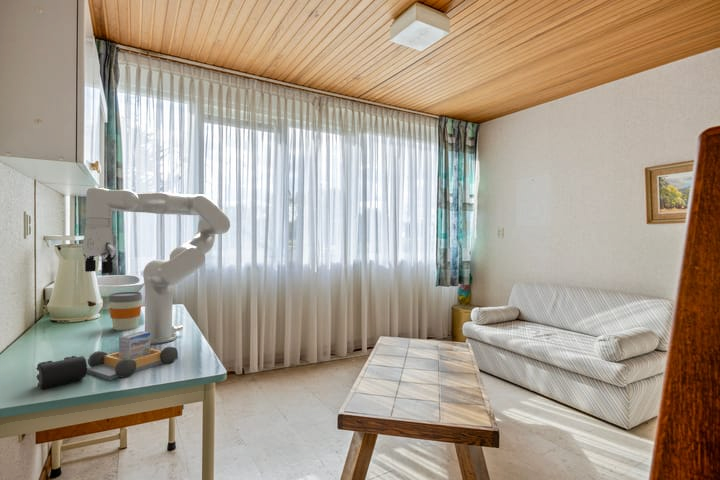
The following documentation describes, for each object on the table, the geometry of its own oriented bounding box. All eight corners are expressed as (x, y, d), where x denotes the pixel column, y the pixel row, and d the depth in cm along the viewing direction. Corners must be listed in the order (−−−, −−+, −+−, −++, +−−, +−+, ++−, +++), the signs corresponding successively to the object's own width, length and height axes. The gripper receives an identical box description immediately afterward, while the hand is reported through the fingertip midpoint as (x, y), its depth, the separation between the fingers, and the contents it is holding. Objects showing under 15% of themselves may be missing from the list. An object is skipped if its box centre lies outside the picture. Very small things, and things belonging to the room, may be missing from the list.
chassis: (151, 352, 134) (151, 337, 133) (181, 359, 126) (181, 344, 126) (82, 371, 114) (82, 354, 114) (113, 381, 107) (113, 364, 107)
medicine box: (129, 366, 116) (129, 338, 116) (118, 364, 117) (118, 336, 117) (150, 358, 123) (151, 332, 123) (140, 356, 124) (140, 330, 124)
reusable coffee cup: (111, 332, 158) (111, 297, 158) (105, 327, 167) (106, 293, 167) (144, 328, 166) (145, 294, 166) (138, 322, 176) (138, 290, 176)
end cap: (42, 393, 98) (42, 367, 98) (34, 386, 103) (35, 361, 103) (87, 381, 106) (87, 358, 106) (78, 375, 111) (79, 352, 111)
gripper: (73, 223, 133) (72, 271, 133) (103, 223, 125) (102, 274, 125) (95, 223, 139) (95, 270, 140) (125, 224, 132) (124, 272, 132)
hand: (98, 272), depth 132 cm, fingers open, 9 cm apart
